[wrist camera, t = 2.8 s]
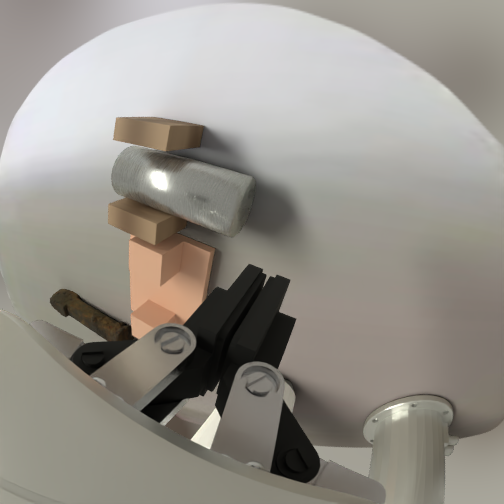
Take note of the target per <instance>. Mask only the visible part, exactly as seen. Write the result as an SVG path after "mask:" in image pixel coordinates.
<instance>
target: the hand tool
mask: <svg viewBox="0 0 504 504" xmlns="http://www.w3.org/2000/svg"><path fill="white" fill-rule="evenodd" d="M50 303H51V305H52V306H53V307H54V309H56V310H57V311H58V312H59V313H60V314H61V315H63V316H65V317H67V316H68V315H69V316H71V317H73V318H74V319H76V320H77V321H79V322H80V323H82V324H83V325H84V326H86V327H87V328H89V329H90V330H92V331H94V332H95V333H97V334H98V335H99V336H101V337H102V338H104V339H106V340H107V341H123V340H133V339H134V336H133V335H132V328H131V326H130V325H127V326H125V324H124V322H120V323H119V322H117V321H115V320H114V319H112V318H110V317H108V316H106V315H105V314H103V313H101V312H100V311H98V310H96V309H95V308H93V307H91V306H90V305H88V304H86V303H85V302H83V301H82V300H81V299H80V297H79V295H78V294H76V293H75V292H73V291H70V290H66V289H60V290H59V291H57V292H56V293H55V294H53V296H52V297H51V298H50Z"/></svg>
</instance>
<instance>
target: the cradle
mask: <svg viewBox="0 0 504 504" xmlns="http://www.w3.org/2000/svg"><path fill="white" fill-rule="evenodd" d="M214 252H215V248H213V247H210V246H208V245H205V244H203V243H200V242H198V241H196V240H193V239H191V238H188V237H186V236H183V235H181V234H178V233H175V234H173V235H172V236H170V237H168V238H167V239H165V240H163V241H161V242H160V243H158V244H156V245H153V244H151V243H149V242H147V241H144V240H142V239H140V238H138V237H136V236H134V235H131V238H130V240H129V271H130V289H131V310H133V311H134V312H133V313H132V314H131V328H132V335H133V336H134V337H136V338H138V339H140V338H141V337H143V336H144V335H146V334H147V333H148V332H150V331H151V330H152V329H154V328H155V327H157V326H159V325H161V324H165V323H176V324H180V325H183V324H184V323H185V322H186V321H187V320H188V319H189V317H190V316H191V315H192V314H193V313H194V312H195V311H196V310H197V308H198V307H199V306H200V305H201V304H202V303H203V302H204V301H205V299H206V296H207V290H208V284H209V279H210V273H211V268H212V263H213V257H214Z"/></svg>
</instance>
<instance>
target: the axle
mask: <svg viewBox="0 0 504 504" xmlns="http://www.w3.org/2000/svg"><path fill="white" fill-rule="evenodd" d="M111 180H112V186H113V188H114V190H115V192H116V193H117V194H119V195H121V196H124V197H126V198H129V199H132V200H134V201H137V202H140V203H142V204H145V205H148V206H150V207H153V208H155V209H158V210H161V211H163V212H166V213H169V214H171V215H174V216H176V217H179V218H182V219H184V220H187V221H190V222H192V223H195V224H197V225H200V226H203V227H205V228H208V229H211V230H213V231H216V232H218V233H221V234H224V235H226V236H229V237H231V238H232V237H235V236H236V235H237V234H238V233H239V232H240V230H241V229H242V227H243V226H244V224H245V222H246V220H247V218H248V216H249V213H250V210H251V207H252V203H253V199H254V195H255V189H256V183H255V179H254V178H253V177H251V176H248V175H245V174H242V173H238V172H235V171H232V170H228V169H225V168H221V167H218V166H214V165H211V164H207V163H204V162H200V161H196V160H192V159H189V158H185V157H181V156H177V155H173V154H169V153H165V152H161V151H157V150H152V149H148V148H144V147H139V146H130V147H128V148H126V149H125V150H123V151H122V152H121V153H120V155H119V156H118V158H117V159H116V161H115V163H114V166H113V169H112V175H111Z"/></svg>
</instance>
